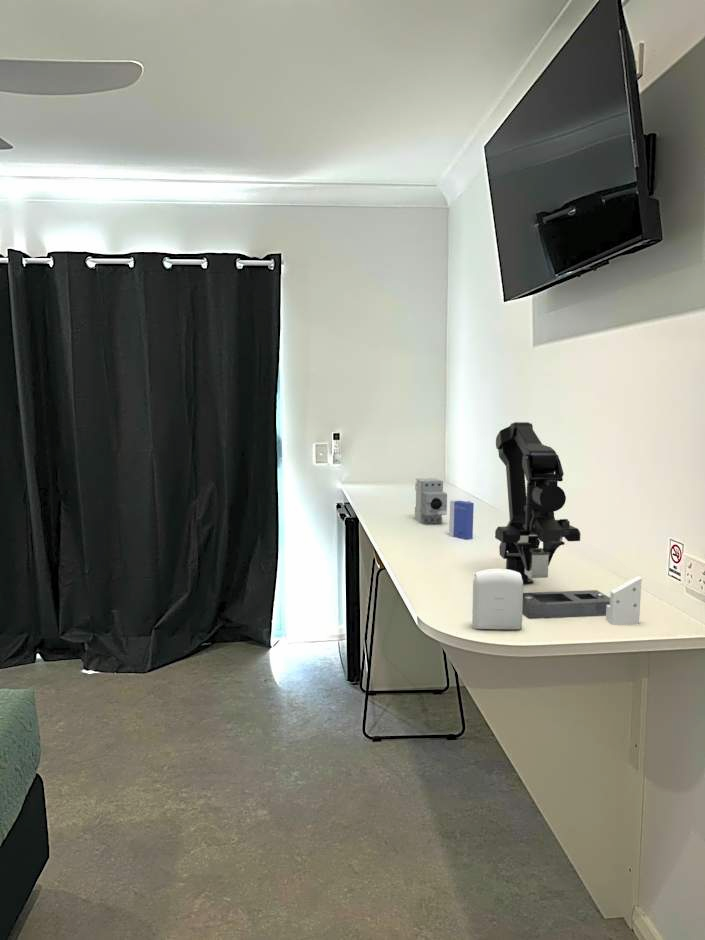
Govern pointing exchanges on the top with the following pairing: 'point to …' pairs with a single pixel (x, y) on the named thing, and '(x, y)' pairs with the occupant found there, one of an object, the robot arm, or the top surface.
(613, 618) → the white angled block
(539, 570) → the drawer with knob
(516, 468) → the robot arm
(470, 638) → the top surface
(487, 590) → the photo printer
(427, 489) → the circuit breaker
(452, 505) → the walkman
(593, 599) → the metal cover plate
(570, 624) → the top surface
